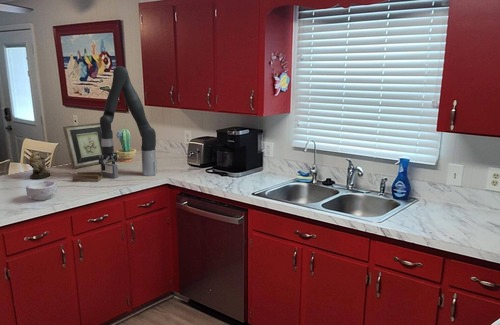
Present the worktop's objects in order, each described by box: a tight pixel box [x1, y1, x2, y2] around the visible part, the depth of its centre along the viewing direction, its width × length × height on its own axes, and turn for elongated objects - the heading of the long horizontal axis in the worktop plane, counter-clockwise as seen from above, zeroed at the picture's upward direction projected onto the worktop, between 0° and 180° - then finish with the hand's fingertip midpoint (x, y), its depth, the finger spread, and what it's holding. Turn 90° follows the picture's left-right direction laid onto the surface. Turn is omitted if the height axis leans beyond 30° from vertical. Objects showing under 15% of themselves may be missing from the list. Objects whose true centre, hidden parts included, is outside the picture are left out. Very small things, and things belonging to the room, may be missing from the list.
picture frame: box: [62, 122, 112, 169], centre depth 307 cm, size 33×10×30 cm, turn 143°
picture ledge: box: [72, 171, 104, 183], centre depth 268 cm, size 10×16×4 cm, turn 93°
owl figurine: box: [28, 151, 51, 180], centre depth 273 cm, size 18×12×17 cm, turn 17°
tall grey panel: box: [100, 162, 119, 180], centre depth 275 cm, size 3×12×9 cm, turn 63°
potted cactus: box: [116, 128, 137, 163], centre depth 323 cm, size 15×15×25 cm
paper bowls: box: [25, 180, 58, 201], centre depth 229 cm, size 15×15×8 cm
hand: (108, 169), depth 274 cm, fingers open, 8 cm apart
